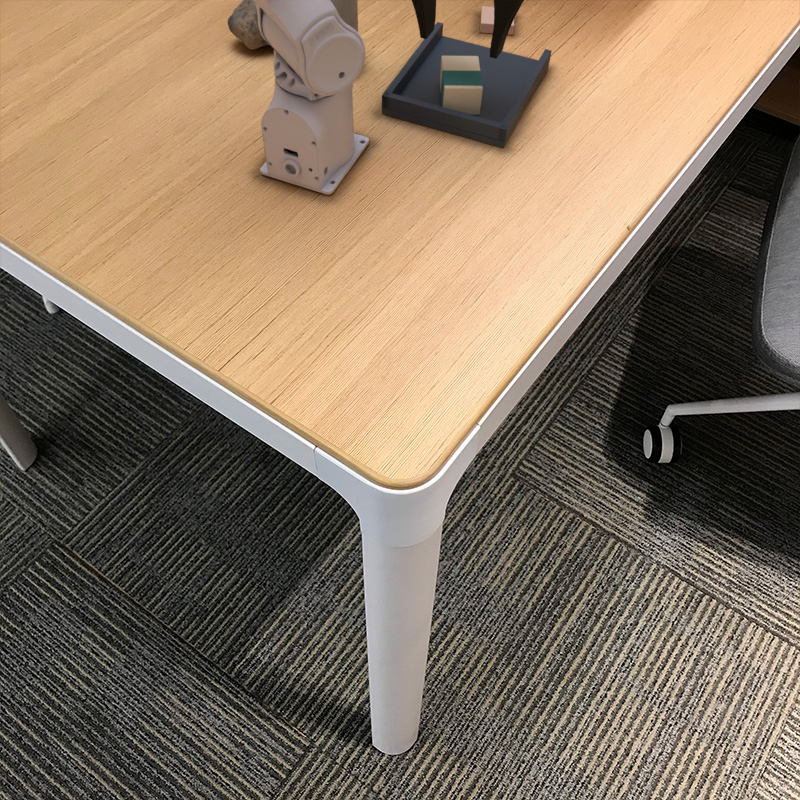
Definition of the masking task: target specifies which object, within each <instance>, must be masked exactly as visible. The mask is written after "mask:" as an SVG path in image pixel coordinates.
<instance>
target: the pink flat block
mask: <svg viewBox="0 0 800 800" xmlns="http://www.w3.org/2000/svg"><path fill="white" fill-rule="evenodd" d="M480 10H481V12H480V25H479V33H481V34H493V28H494V6H487V5H482V6H481V9H480ZM514 30H515V19H514V20H513V22H512V24H511V27H510V29H509V32H508V34H507V36H513V35H514Z"/></svg>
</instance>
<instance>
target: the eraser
mask: <svg viewBox="0 0 800 800" xmlns="http://www.w3.org/2000/svg"><path fill="white" fill-rule="evenodd" d="M482 91H483V82H482V75H481V71H480V65H479V58H478V56H442V57H441V70H440V92H441V97H440V98H441V107H444V108H448V109H451V110H455V111H458V112H462V113H466V114H469V115H479V114H480V107H481V99H482Z"/></svg>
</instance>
